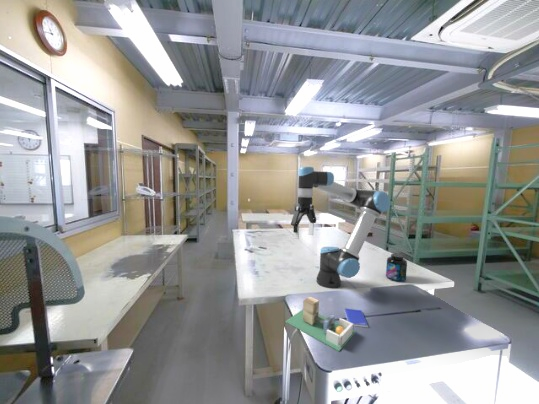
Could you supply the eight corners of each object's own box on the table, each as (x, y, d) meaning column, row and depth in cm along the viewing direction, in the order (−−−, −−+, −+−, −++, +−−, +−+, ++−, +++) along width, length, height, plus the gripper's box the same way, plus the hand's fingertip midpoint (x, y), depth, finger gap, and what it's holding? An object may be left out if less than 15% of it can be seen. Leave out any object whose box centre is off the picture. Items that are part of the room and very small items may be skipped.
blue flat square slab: (368, 325, 102) (361, 310, 114) (349, 323, 103) (344, 308, 115) (368, 328, 102) (361, 313, 114) (348, 326, 103) (344, 311, 115)
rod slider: (310, 315, 109) (310, 295, 108) (334, 326, 100) (335, 305, 99) (301, 321, 103) (302, 301, 103) (326, 334, 95) (327, 312, 94)
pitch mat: (305, 308, 116) (305, 307, 116) (356, 332, 98) (356, 331, 98) (285, 322, 104) (285, 321, 104) (338, 351, 87) (339, 350, 86)
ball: (346, 325, 95) (347, 335, 95) (337, 323, 97) (338, 332, 97) (341, 330, 92) (343, 340, 92) (332, 327, 95) (334, 337, 94)
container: (386, 280, 152) (388, 255, 151) (384, 275, 163) (386, 251, 163) (407, 284, 147) (409, 258, 147) (404, 277, 159) (405, 254, 158)
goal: (339, 326, 101) (340, 317, 101) (353, 332, 97) (353, 323, 97) (326, 339, 92) (326, 330, 92) (340, 347, 88) (340, 337, 88)
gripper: (312, 195, 132) (310, 232, 133) (284, 196, 113) (283, 239, 115) (323, 196, 126) (322, 234, 128) (296, 197, 108) (295, 242, 110)
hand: (303, 236), depth 122 cm, fingers open, 13 cm apart
